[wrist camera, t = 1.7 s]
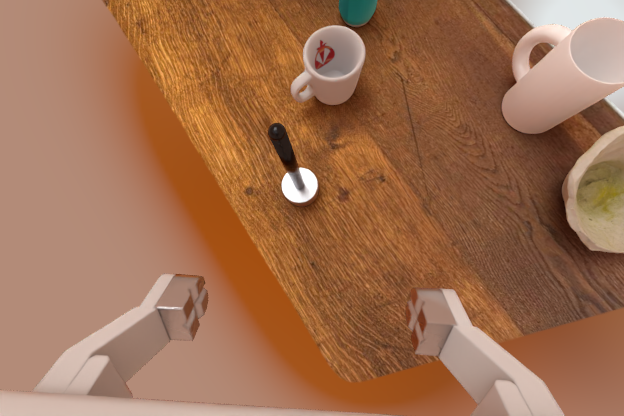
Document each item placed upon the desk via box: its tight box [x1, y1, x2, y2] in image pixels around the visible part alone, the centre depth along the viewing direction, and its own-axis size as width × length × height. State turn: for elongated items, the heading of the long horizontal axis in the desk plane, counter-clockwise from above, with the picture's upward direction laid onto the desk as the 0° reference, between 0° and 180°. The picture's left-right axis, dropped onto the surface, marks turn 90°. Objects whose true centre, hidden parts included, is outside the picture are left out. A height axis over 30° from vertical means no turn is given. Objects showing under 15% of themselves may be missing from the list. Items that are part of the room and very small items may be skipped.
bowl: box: [562, 126, 624, 253], centre depth 34 cm, size 15×14×10 cm
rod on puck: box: [268, 123, 319, 207], centre depth 31 cm, size 5×5×20 cm
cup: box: [291, 26, 365, 105], centre depth 40 cm, size 11×8×8 cm
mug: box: [502, 18, 624, 134], centre depth 36 cm, size 8×12×12 cm
